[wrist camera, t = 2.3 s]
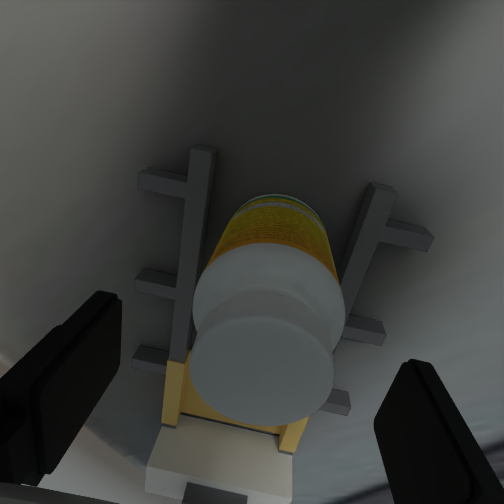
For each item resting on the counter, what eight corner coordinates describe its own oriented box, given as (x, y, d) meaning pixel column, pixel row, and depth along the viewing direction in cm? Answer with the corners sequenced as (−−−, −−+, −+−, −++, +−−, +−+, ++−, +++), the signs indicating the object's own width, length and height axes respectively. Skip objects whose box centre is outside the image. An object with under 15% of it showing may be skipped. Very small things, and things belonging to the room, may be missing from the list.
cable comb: (149, 134, 16) (90, 150, 11) (439, 197, 16) (502, 240, 11) (135, 429, 26) (101, 503, 21) (311, 470, 26) (316, 553, 21)
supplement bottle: (332, 275, 18) (371, 440, 9) (239, 289, 19) (197, 449, 10) (317, 180, 16) (350, 281, 7) (213, 201, 17) (134, 312, 8)
